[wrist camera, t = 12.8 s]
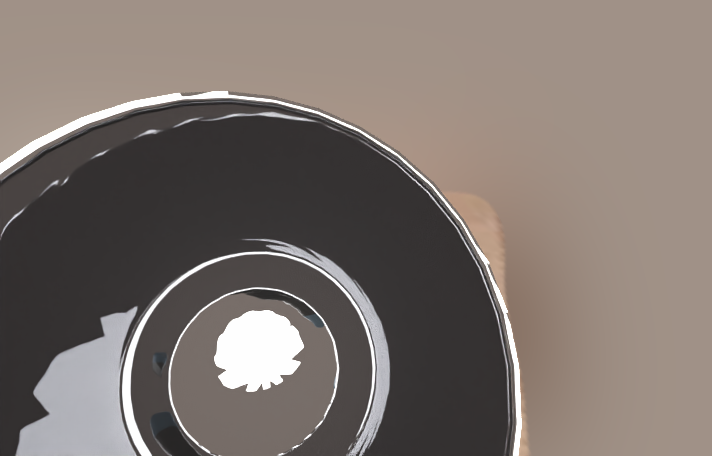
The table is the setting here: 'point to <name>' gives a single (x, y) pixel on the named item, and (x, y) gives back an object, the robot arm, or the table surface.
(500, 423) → the wine glass
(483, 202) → the table surface
